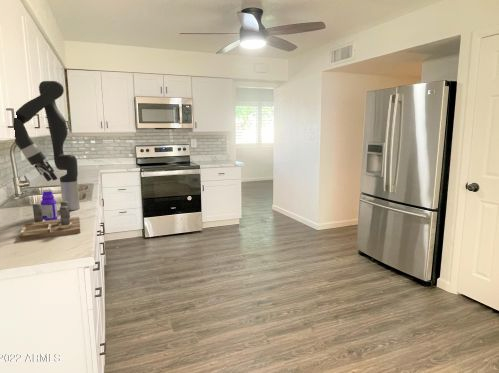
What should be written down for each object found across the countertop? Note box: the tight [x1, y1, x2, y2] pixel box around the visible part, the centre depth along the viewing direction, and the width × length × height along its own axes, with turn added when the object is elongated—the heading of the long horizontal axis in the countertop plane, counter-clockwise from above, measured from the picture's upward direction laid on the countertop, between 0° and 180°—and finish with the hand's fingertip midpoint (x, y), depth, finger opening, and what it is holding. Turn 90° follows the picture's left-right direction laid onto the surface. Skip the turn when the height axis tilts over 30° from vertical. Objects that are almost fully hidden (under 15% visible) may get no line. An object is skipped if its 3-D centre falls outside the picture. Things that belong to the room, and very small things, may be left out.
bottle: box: [40, 187, 59, 221], centre depth 180 cm, size 7×6×17 cm
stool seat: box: [19, 201, 81, 241], centre depth 165 cm, size 24×24×12 cm
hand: (52, 180), depth 183 cm, fingers open, 8 cm apart
